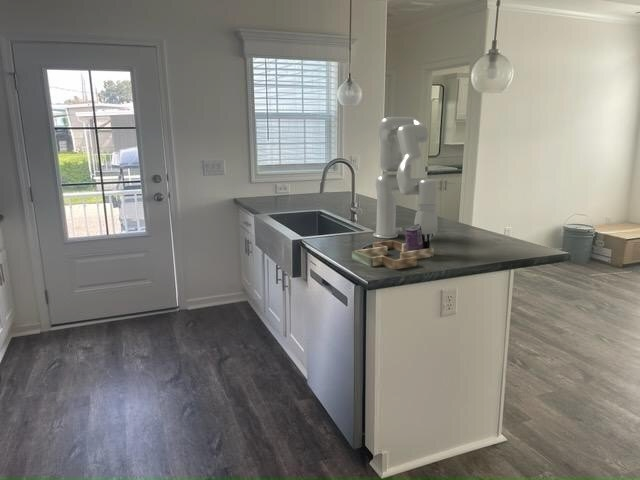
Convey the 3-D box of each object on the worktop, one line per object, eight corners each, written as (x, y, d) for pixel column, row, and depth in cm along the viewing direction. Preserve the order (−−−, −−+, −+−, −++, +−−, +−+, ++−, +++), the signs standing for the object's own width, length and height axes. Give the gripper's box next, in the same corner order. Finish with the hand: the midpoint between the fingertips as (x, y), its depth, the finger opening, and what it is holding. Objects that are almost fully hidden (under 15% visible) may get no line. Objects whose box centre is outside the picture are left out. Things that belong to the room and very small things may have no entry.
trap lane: (401, 246, 224) (401, 238, 224) (446, 260, 200) (447, 252, 199) (341, 254, 208) (341, 247, 208) (383, 271, 183) (383, 262, 183)
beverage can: (422, 247, 212) (419, 223, 207) (424, 254, 206) (422, 229, 201) (406, 250, 213) (403, 225, 208) (408, 257, 206) (405, 232, 202)
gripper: (433, 206, 214) (431, 246, 218) (408, 208, 207) (406, 249, 210) (445, 207, 208) (444, 248, 211) (420, 210, 200) (418, 253, 204)
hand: (425, 249), depth 211 cm, fingers closed
